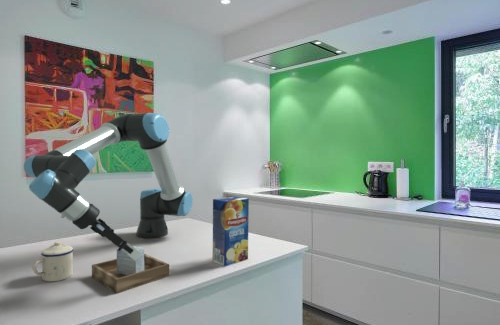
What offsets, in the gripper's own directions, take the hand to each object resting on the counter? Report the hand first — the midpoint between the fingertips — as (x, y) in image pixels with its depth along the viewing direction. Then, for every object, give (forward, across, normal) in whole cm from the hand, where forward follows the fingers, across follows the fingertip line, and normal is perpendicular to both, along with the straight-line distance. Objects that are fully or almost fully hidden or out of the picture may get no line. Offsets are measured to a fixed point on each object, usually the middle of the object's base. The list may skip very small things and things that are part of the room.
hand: (131, 251), depth 105 cm
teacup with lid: (-9, -14, -21) cm, 27 cm away
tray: (+6, 0, -6) cm, 8 cm away
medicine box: (+5, 0, -6) cm, 8 cm away
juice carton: (+31, +6, +19) cm, 37 cm away
